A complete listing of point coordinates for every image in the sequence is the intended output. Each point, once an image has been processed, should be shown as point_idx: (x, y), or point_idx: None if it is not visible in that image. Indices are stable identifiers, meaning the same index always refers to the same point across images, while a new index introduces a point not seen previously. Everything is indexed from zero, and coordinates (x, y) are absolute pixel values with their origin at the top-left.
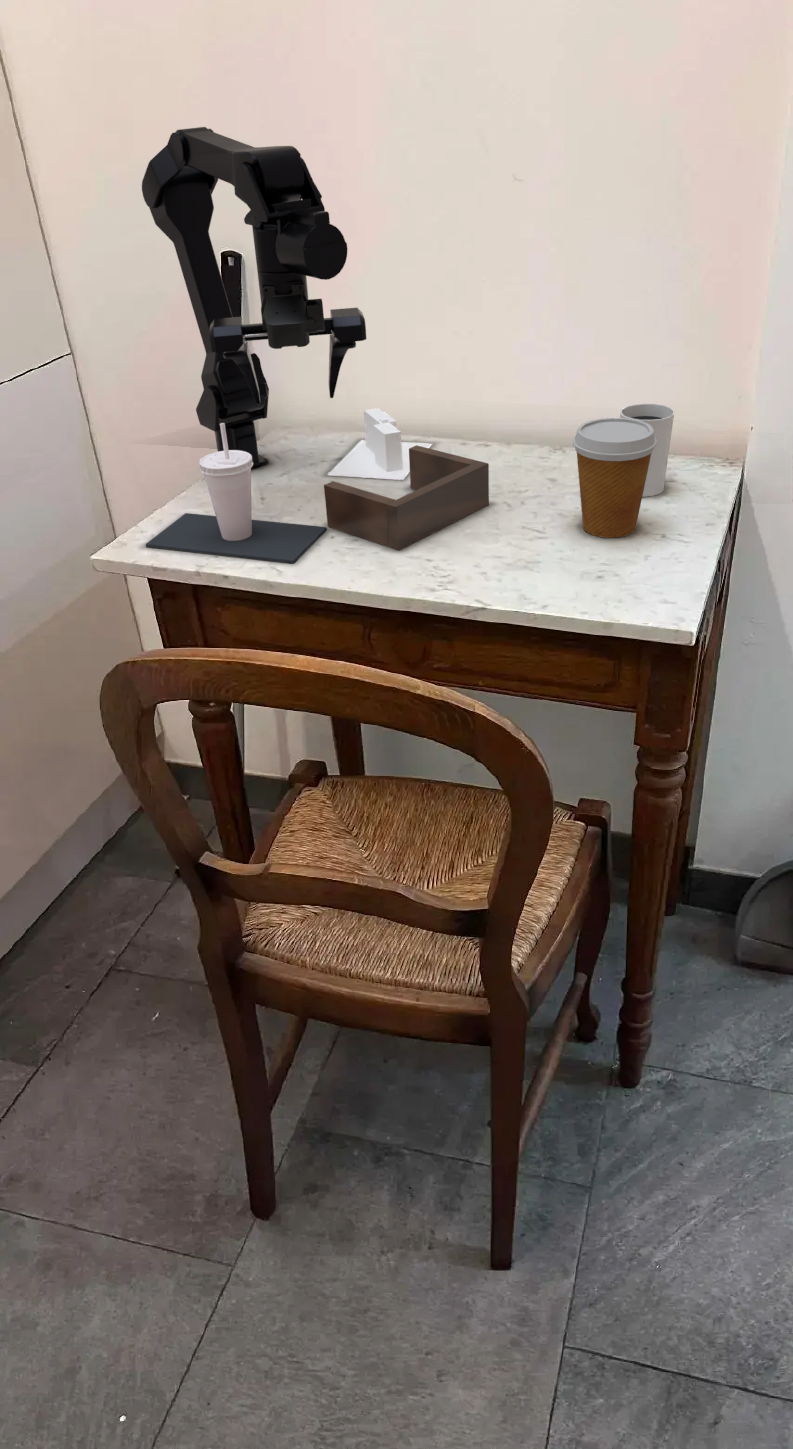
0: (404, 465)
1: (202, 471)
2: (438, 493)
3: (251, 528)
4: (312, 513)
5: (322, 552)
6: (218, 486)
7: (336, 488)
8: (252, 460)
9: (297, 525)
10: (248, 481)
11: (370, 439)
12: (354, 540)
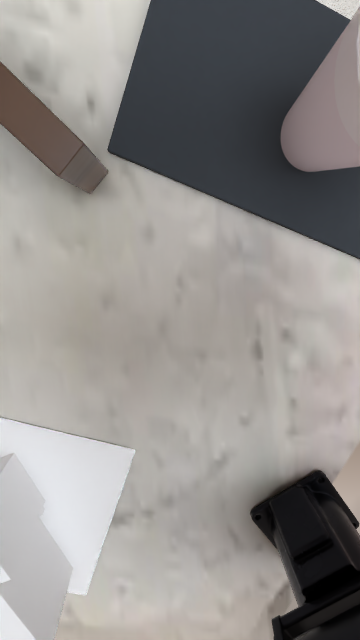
0: None
1: None
2: None
3: (285, 125)
4: (150, 259)
5: (106, 3)
6: None
7: (34, 96)
8: (284, 501)
9: (177, 172)
10: (350, 23)
11: (53, 573)
12: (34, 73)
